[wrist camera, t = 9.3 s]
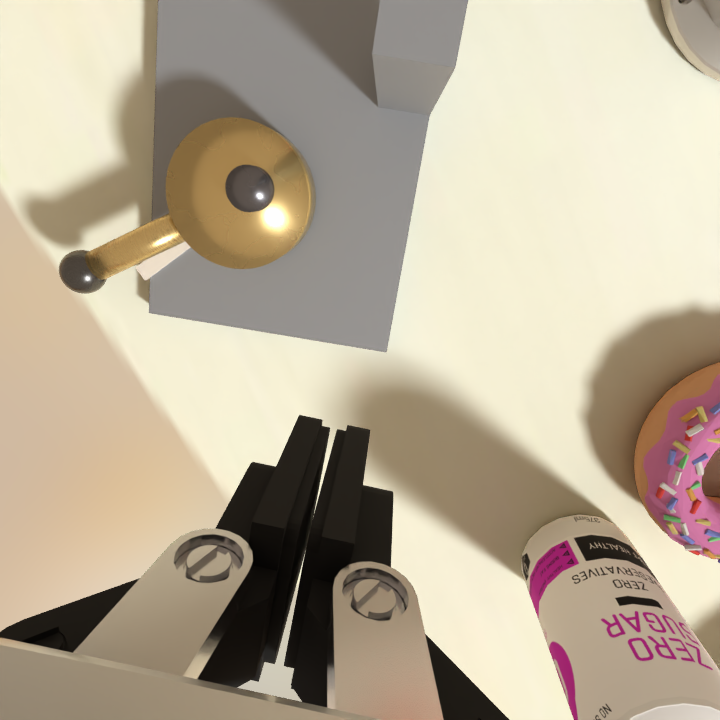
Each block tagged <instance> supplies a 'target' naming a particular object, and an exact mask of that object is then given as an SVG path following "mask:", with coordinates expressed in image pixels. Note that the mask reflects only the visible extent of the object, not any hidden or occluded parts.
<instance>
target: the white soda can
mask: <svg viewBox="0 0 720 720" xmlns="http://www.w3.org/2000/svg"><path fill="white" fill-rule="evenodd" d="M521 571H522V574H523V577H524V579H525V582H526V585H527V588H528V591H529V594H530V596H531V599H532V602H533V605H534V608H535V610H536V613H537V616H538V619H539V622H540V625H541V627H542V630H543V633H544V636H545V639H546V642H547V644H548V647H549V650H550V653H551V656H552V659H553V661H554V664H555V667H556V670H557V673H558V676H559V678H560V681H561V684H562V687H563V690H564V693H565V695H566V698H567V701H568V704H569V707H570V710H571V712H572V715H573V718H574V720H720V670H719V668H718V667H717V665H716V664H715V662H714V661H713V660H712V658H711V657H710V655H709V654H708V652H707V651H706V649H705V648H704V647H703V645H702V644H701V642H700V641H699V639H698V638H697V637H696V635H695V634H694V632H693V631H692V629H691V628H690V626H689V625H688V624H687V622H686V621H685V619H684V618H683V616H682V615H681V614H680V612H679V611H678V609H677V608H676V606H675V605H674V603H673V602H672V601H671V599H670V598H669V596H668V595H667V593H666V592H665V591H664V589H663V588H662V586H661V585H660V583H659V582H658V581H657V579H656V578H655V576H654V575H653V573H652V572H651V570H650V569H649V568H648V566H647V565H646V563H645V562H644V560H643V559H642V558H641V556H640V555H639V553H638V552H637V550H636V549H635V547H634V546H633V545H632V543H631V542H630V540H629V539H628V537H627V536H626V535H625V534H624V533H623V532H622V531H621V530H620V529H619V528H618V527H617V526H616V525H615V524H613V523H611V522H609V521H607V520H605V519H602V518H600V517H597V516H588V515H580V514H579V515H573V516H568V517H562V518H558V519H556V520H554V521H552V522H550V523H548V524H546V525H544V526H542V527H541V528H540V529H539V530H538V531H537V532H536V533H535V534H534V535H533V536H532V537H531V538H530V539H529V540H528V542H527V545H526V547H525V549H524V551H523V553H522V563H521Z"/></svg>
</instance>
